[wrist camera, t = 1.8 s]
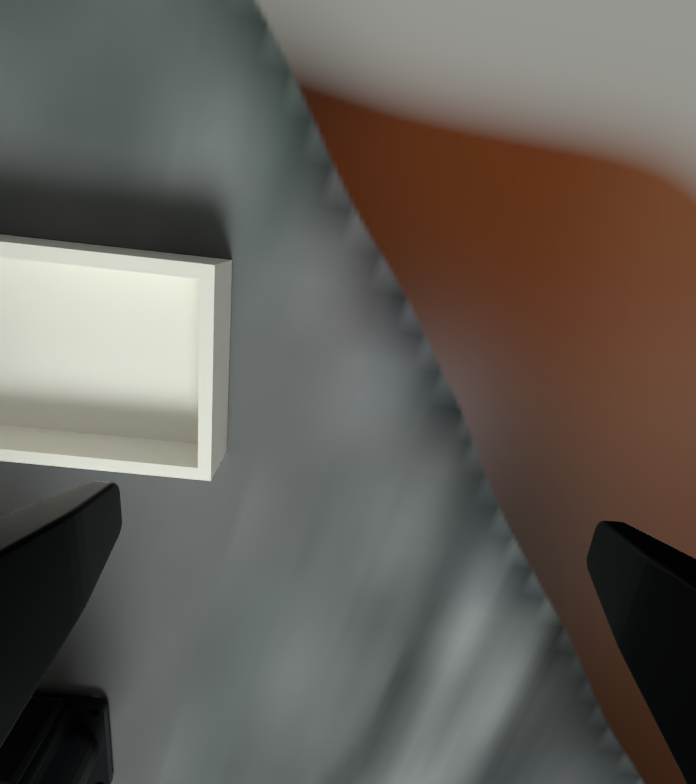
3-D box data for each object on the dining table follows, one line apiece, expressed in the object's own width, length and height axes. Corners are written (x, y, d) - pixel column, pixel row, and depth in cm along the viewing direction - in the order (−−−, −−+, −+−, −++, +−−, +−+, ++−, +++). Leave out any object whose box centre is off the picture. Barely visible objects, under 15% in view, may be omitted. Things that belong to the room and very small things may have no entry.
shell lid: (226, 451, 21) (210, 480, 18) (-158, 414, 20) (-225, 439, 18) (232, 259, 18) (214, 265, 16) (-209, 211, 18) (-294, 209, 15)
